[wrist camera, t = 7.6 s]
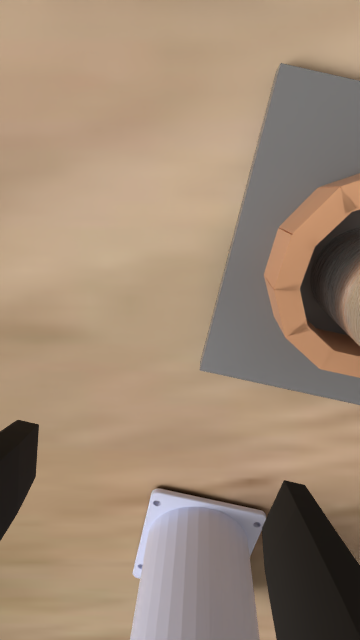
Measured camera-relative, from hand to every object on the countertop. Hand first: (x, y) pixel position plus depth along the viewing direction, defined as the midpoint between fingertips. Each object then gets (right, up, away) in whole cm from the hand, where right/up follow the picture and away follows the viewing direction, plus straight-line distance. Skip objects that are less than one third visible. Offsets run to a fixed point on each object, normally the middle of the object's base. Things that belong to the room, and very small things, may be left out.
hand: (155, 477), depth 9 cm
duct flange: (+9, +7, +7) cm, 13 cm away
